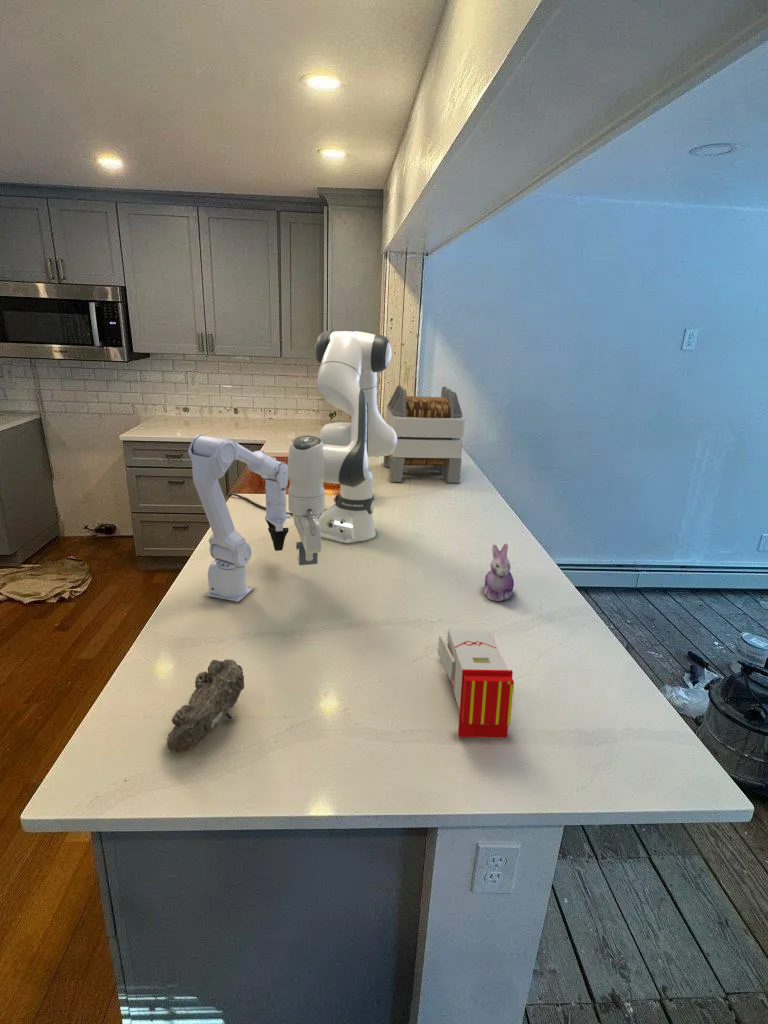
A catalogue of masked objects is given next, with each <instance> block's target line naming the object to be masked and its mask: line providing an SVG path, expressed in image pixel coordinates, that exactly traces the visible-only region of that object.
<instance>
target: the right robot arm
mask: <svg viewBox="0 0 768 1024" xmlns="http://www.w3.org/2000/svg"><path fill="white" fill-rule="evenodd" d="M314 351H315V358H316V361H317V362H318V364H319V369H318V373H317V379H316V387H317V390H318V393H319V395H320V396H321V397H322V399H323V400H324V401H325V402H326V403H327V404H329V405H330V406H331V407H334V408H336V409H338V410H340V411H342V412H344V413H346V414H347V415H348V416H349V417H351V422H347V421H346V422H343V421H337V422H331V423H325V424H324V425H323V426H322V427H321V429H320V431H319V433H318V436H315V435H300V436H297V437H295V438H294V439H292V440H291V441H290V443H289V448H288V449H289V450H288V457H287V466H288V477H289V478H288V481H289V485H288V486H289V487H288V490H287V498H288V500H287V501H288V511H286V514H290V516H292V517H293V523H294V526H295V528H296V531H297V534H298V536H299V538H300V539H299V540H300V542H302V544H303V546H304V549H305V559H306V561H311V560H313V553H321V551H322V538H323V539H326V540H330V541H336V542H339V543H343V544H352V543H357V542H365V541H368V540H372V539H373V538H375V537H376V535H377V532H376V528H375V523H374V513H373V512H374V509H375V496H374V474H373V472H372V471H371V469H370V461H369V458H381V457H384V456H387V455H391V454H392V453H393V452H394V450H395V448H396V446H397V435H396V432H395V431H394V429H393V428H392V427H391V426H390V425H388V424H387V423H386V420H384V418H383V417H382V415H381V414H380V411H379V408H378V398H377V397H378V394H377V393H378V391H377V389H378V373H381V372H384V371H385V370H387V369H388V367H389V364H390V362H391V359H392V355H393V354H392V353H393V351H392V346H391V341H390V340H389V338H388V337H387V336H385V335H382V334H379V333H376V334H375V333H374V334H373V333H370V332H365V331H357V330H354V331H349V330H337V331H335V330H333V329H331V330H324V331H322V332H320V334H319V335H318V336H317V338H316V341H315V346H314ZM324 483H325V484H326V483H329V484H335V485H340V488H339V489H340V490H339V491H338V492H337V494H336V495H335V496H334V497H333V502H334V504H333V505H331V506H329V507H327V508H326V499H325V498H326V490H325V486H324ZM232 496H234V497H238V498H240V499H243V500H245V501H247V502H248V503H250V504H252V505H254V506H256V507H258V508H260V509H263V510H266V506H263V505H260V504H259V503H256V502H254V501H252V500H251V499H249V498H247V497H245V496H244V495H243V496H242V495H240V494H237V493H229V494H228V495H227V498H230V497H232Z"/></svg>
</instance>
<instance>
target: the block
mask: <svg viewBox="0 0 768 1024" xmlns="http://www.w3.org/2000/svg"><path fill="white" fill-rule="evenodd" d="M295 544H296V545H295V547H296V561H297V563H298V566H309V565H317V564H318V563H319V562H318V559H319V557H318V553H319V552H318V553H313V560H311V561H306V559H305V549H304V546H303V544H302V542H301V541H296V543H295Z"/></svg>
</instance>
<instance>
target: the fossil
mask: <svg viewBox="0 0 768 1024" xmlns="http://www.w3.org/2000/svg"><path fill="white" fill-rule="evenodd" d="M243 670H244V669H243V667H242V665H240V664H237V662H236V661H235V660H234V659H232V658H231V659H227V658H226V659H224V660H223V661H222V660H217V659H212V660H211V661H210V663H209V665H208V666H207V671H201V672H199V673H198V674H197V675H196V676H195V680H194V684H195V685H194V687H195V689H194V690H193V693H192V694H191V697H190V698H189V700H188V704H184V705H182V706H181V707H180V709H177V710H176V711H175V713H174V715H173V716H172V718H171V723H172V724H173V727H172V730H171V731H170V732H168V734H167V738H166V741H167V742H166V745H167V749H168V750H169V751H173V752H174V753H176V754H178V753H182V752H188V751H189V752H192V751H193V750H195V748H196V747H197V746H199V744H200V743H201V742H203V741H204V740H205V739H206V738H207V737H208V736H209V735H210V734H211V733H212V732H214V730H215V729H217V727H218V726H219V724H220V722H221V721H222V720H223V719H224V718H225V716H226V717H227V719H229V720H233V717H232V715H230V714H229V710H230V709H231V708H234V706H235V704H236V703H237V702H238V699H239V697H240V695H241V693H242V691H243V690H245V689H244V688H245V675H244V671H243Z"/></svg>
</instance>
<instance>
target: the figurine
mask: <svg viewBox="0 0 768 1024" xmlns="http://www.w3.org/2000/svg"><path fill="white" fill-rule="evenodd" d="M491 547H492V548H491V549H492V560H491V562H490V571H488V572H487V573H486V574H485V577H484V587H483V592H484V595H485V596H486V597H487V598H488V600H491V601H494V602H495V601H496V602H502V601H503V600H509V598H510V597H511V596H512V594H513V590H514V587H515V581H514V577H513V574H512V572H511V567H512V566H511V563H510V560H509V558H508V549H509V545H508V544H507V543H504V544H503V545H502V547H501V549H500V550H499V548H498V546H497V545H496V544H494V543H493V544H492V546H491Z"/></svg>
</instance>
